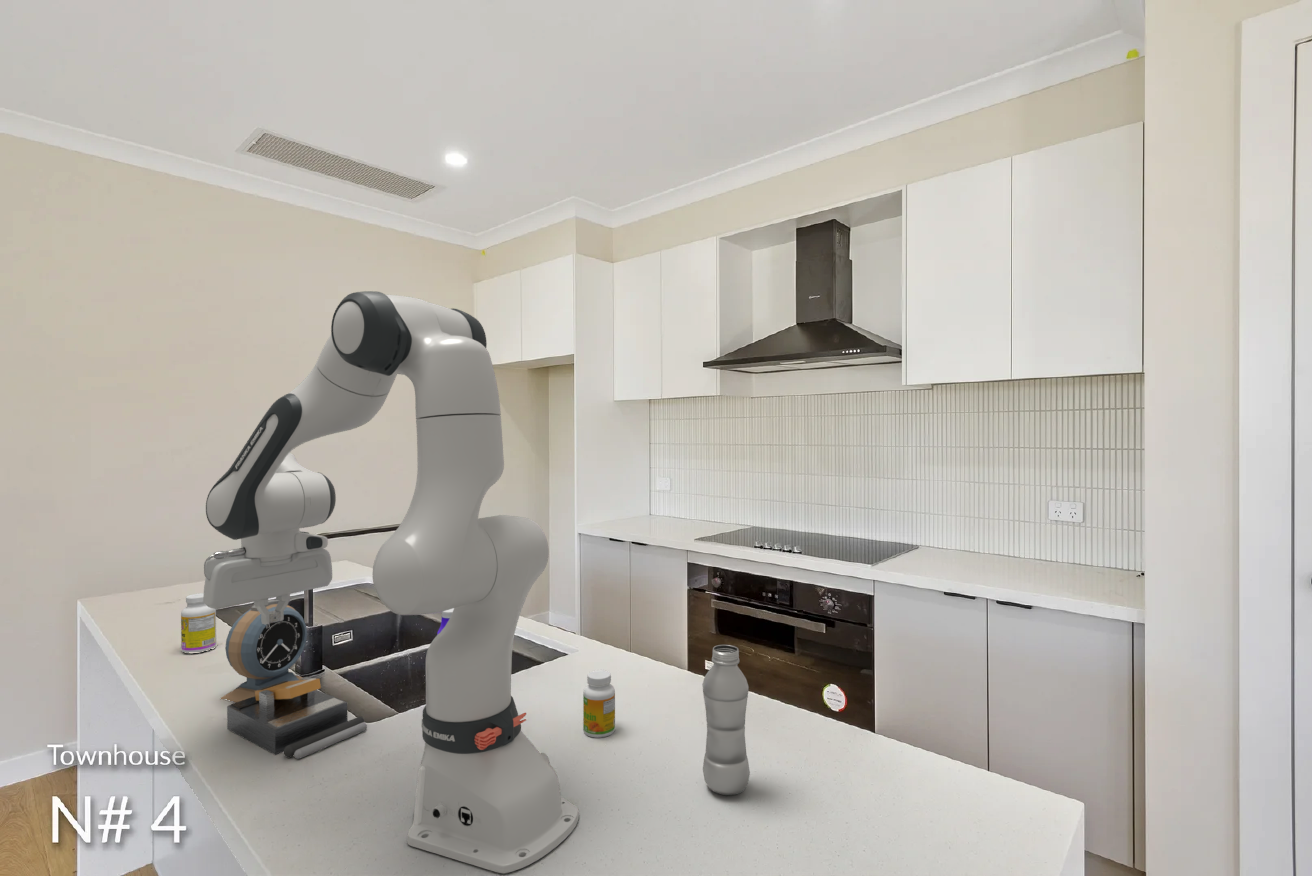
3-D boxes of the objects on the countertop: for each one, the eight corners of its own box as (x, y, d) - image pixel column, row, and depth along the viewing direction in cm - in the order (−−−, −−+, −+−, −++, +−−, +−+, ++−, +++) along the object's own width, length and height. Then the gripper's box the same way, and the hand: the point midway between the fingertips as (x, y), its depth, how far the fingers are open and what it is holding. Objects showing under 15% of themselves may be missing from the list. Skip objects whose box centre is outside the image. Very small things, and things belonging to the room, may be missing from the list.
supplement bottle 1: (185, 647, 150) (184, 593, 150) (219, 643, 153) (218, 590, 153) (178, 657, 144) (177, 600, 144) (213, 652, 147) (212, 597, 147)
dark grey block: (347, 725, 111) (347, 683, 111) (275, 755, 101) (274, 709, 100) (298, 703, 119) (298, 665, 119) (227, 729, 109) (226, 687, 109)
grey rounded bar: (358, 725, 111) (358, 715, 111) (369, 730, 109) (369, 719, 109) (281, 757, 100) (281, 746, 100) (292, 763, 98) (292, 751, 98)
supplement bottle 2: (576, 731, 108) (576, 674, 108) (600, 720, 112) (600, 665, 112) (598, 741, 105) (597, 683, 104) (621, 730, 109) (621, 673, 108)
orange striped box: (321, 688, 109) (319, 677, 109) (290, 698, 104) (289, 687, 105) (285, 690, 115) (284, 680, 115) (255, 700, 111) (254, 690, 111)
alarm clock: (251, 709, 117) (250, 613, 117) (214, 701, 121) (213, 608, 120) (317, 680, 131) (316, 594, 130) (282, 674, 134) (281, 590, 134)
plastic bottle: (738, 807, 86) (738, 660, 86) (694, 792, 90) (694, 651, 90) (757, 784, 92) (757, 646, 92) (714, 771, 95) (714, 638, 95)
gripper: (212, 555, 102) (214, 641, 102) (336, 536, 119) (337, 610, 119) (195, 551, 105) (196, 635, 105) (317, 534, 122) (319, 606, 122)
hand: (272, 622), depth 112 cm, fingers closed
